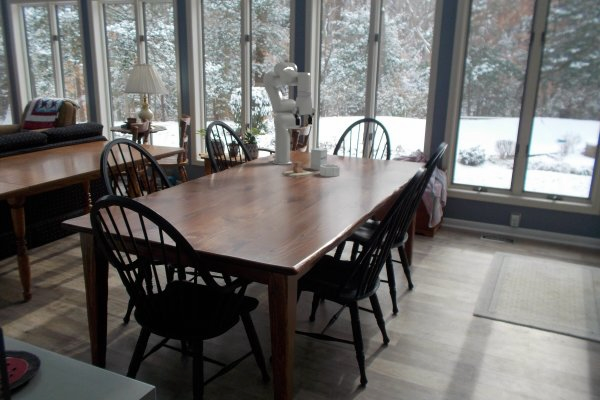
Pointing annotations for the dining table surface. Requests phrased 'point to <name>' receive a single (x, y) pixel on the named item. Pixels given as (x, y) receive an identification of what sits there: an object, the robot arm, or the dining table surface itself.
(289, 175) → the mat
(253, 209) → the dining table surface
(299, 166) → the lid
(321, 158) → the supplement box
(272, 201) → the dining table surface
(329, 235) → the dining table surface
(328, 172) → the bowl
